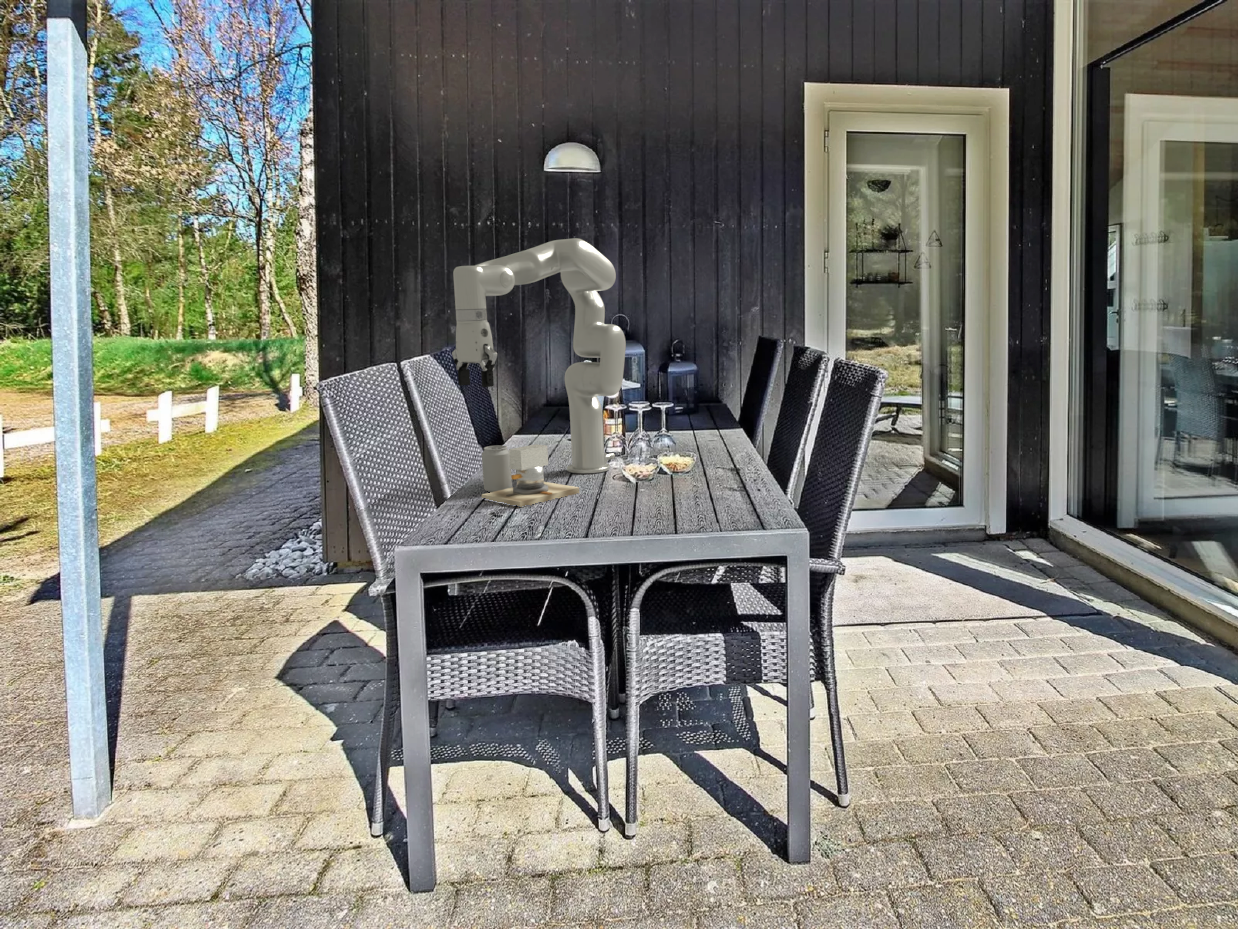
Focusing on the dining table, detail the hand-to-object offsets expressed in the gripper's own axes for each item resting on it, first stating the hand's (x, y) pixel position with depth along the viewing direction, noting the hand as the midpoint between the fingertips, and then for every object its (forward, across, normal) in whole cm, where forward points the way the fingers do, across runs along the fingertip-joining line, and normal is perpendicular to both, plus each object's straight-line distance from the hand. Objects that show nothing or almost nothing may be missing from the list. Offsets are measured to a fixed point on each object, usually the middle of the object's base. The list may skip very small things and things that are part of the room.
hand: (476, 385), depth 219 cm
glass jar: (+26, -9, -8) cm, 29 cm away
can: (+29, +4, -8) cm, 30 cm away
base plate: (+29, -9, -8) cm, 31 cm away
